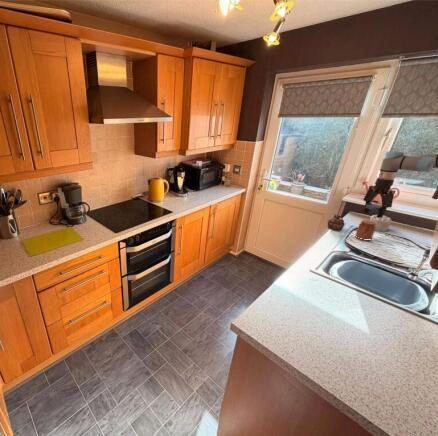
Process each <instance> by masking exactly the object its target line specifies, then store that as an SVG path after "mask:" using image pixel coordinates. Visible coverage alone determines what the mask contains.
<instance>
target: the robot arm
mask: <svg viewBox="0 0 438 436" xmlns="http://www.w3.org/2000/svg"><path fill="white" fill-rule="evenodd" d="M432 169H438V153H431V154H430V153H429V154H422V155H419V156H417V155H405V152H404V151H399V150H388V151H386V152H385V154H384V156H383V158H382V162H381V165H380V167H379V171H378V174H377V175H376V177H377V178H376V179H375V181H374V185H369V186H368V190H367V192H366V193H365V195H364V197H363V200H362V201H364V202H365V204H364V209H363V213H364V214H368V213H370V210H371V209H368V208H366V206H367V204H373V201H374V199H375V198H376V197H377V196H378V195H379V196H380V199H381V200H380V201H381V205H382V207H380V209H379V211H378V212H377V214H376V215H377V218H382V216H384V214H385V213H386V212H387V209H389V208H392V207H393V202H394V196H395V194H396V193H397V191H396V190H392V189H391V187H393V185H394V182H395V179H396V177H397V174H398V172H399V170H401V171H402V170H403V171H410V172H411V171H412V172H418V173H421V172H423V173H429V172H430V171H432Z"/></svg>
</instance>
